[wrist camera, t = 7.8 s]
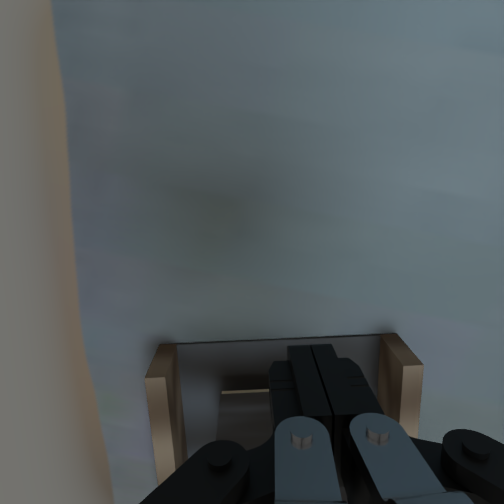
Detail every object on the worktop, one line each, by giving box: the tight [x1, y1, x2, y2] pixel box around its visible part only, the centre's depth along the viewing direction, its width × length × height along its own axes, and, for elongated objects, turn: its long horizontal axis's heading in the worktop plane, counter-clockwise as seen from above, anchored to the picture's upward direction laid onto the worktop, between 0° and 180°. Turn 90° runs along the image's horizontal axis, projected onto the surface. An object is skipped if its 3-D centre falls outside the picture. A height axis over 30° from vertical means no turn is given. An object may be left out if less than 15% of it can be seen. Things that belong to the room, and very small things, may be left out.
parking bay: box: [145, 334, 424, 486], centre depth 26 cm, size 19×16×4 cm
